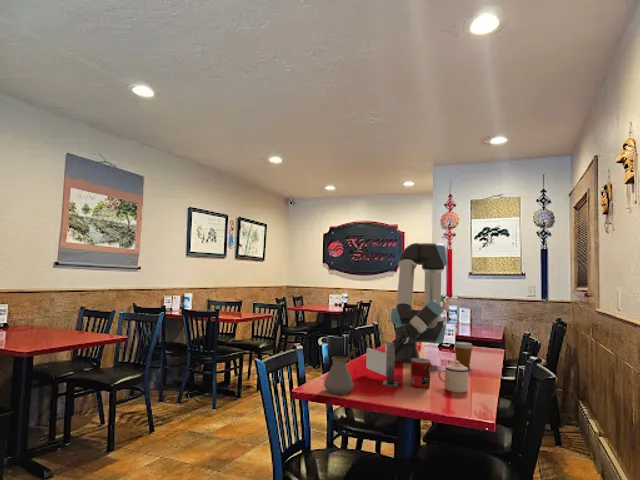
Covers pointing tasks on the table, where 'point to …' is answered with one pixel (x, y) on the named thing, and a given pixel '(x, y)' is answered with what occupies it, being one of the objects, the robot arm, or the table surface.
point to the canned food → (420, 373)
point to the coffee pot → (339, 376)
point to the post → (390, 368)
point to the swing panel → (378, 359)
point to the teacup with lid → (456, 377)
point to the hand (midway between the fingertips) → (377, 364)
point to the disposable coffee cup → (463, 353)
